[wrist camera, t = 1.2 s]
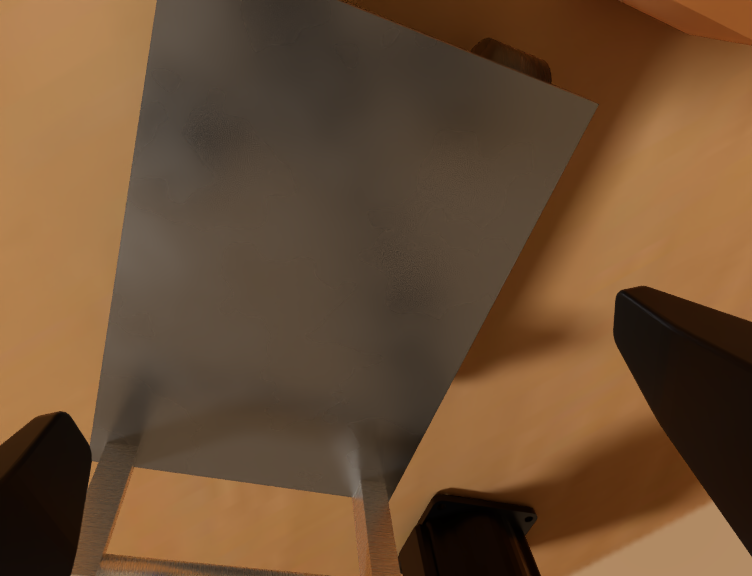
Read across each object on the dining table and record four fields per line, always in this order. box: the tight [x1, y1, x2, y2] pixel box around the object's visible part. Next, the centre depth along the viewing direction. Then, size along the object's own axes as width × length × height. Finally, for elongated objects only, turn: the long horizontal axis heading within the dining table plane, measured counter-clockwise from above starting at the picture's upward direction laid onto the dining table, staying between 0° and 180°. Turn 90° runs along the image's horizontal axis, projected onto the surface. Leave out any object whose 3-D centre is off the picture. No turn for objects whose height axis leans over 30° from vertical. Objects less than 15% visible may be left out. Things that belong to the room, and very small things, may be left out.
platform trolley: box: [71, 0, 599, 576], centre depth 17 cm, size 11×17×10 cm, turn 160°
